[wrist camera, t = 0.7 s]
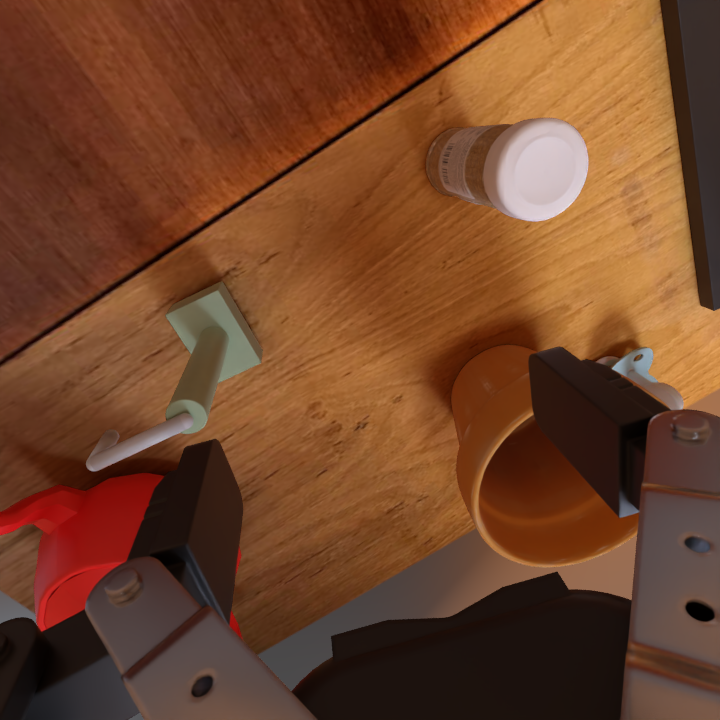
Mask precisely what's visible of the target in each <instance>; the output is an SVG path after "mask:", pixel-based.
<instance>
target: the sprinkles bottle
mask: <svg viewBox="0 0 720 720" xmlns="http://www.w3.org/2000/svg"><path fill="white" fill-rule="evenodd" d="M587 171H588V152H587V148H586V145H585V142H584V140H583V138H582V136H581V135H580V133H579V132H578V131H577V130H576V129H575V128H574V127H573V126H572V125H570V124H569V123H567V122H565V121H563V120H560V119H556V118H536V119H528V120H523V121H520V122H518V123H515V124H514V125H513V124H512V125H510V124H501V125H490V126H478V127H469V128H462V127H457V128H452V129H448V130H447V131H445V132H443V133H442V134H440V135H439V136H438V137H437V138H436V139H435V140H434V141H433V143H432V144H431V146H430V148H429V151H428V153H427V160H426V172H427V176H428V178H429V180H430V182H431V184H432V186H433V187H434V188H435V189H436V190H437V191H439V192H440V193H442V194H445V195H448V196H456V197H459V198H460V199H462V200H465V201H468V202H471V203H475V204H480V205H485V206H489V207H492V208H496V209H498V210H499V211H501V212H502V213H503V214H505V215H507V216H510V217H513V218H517V219H521V220H525V221H543V220H547V219H550V218H552V217H555V216H556V215H558V214H560V213H561V212H563V211H564V210H565V209H567V208H568V207H569V206H570V205H571V204H572V203H573V202H574V200H575V199H576V198H577V196H578V195H579V193H580V191H581V189H582V187H583V185H584V182H585V180H586V176H587Z"/></svg>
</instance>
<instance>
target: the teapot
mask: <svg viewBox="0 0 720 720" xmlns="http://www.w3.org/2000/svg"><path fill="white" fill-rule="evenodd" d="M163 478H164V476H162V475H156V474H151V473H139V474H133V475H126V476H120V477H114V478H108V479H107V480H105V481H103V482H101V483H100V484H98V485H96V486H95V487H92V488H90V489H88V490H86V491H83V490H79V489H75V488H72V487H68V486H64V485H60V484H59V485H56V486H54V487H51V488H49V489H46V490H44V491H41V492H39V493H36V494H34V495H31V496H29V497H26V498H24V499H22V500H20V501H19V502H17V503H15V504H14V505H12V506H10V507H9V508H7V509H5V510H4V511H2V512H0V535H3V534H6V533H9V532H13V531H14V530H16V529H17V528H19V527H21V526H22V525H28V524H33V525H35V526H36V527H38V528H39V529H41V530H42V531H44V532H43V535H42V537H41V540H40V544H39V552H38V560H37V567H36V574H35V581H34V594H35V613H36V623H37V625H38V627H39V629H40V630H41V631H44V630H46V629H48V628H50V627H52V626H54V625H56V624H58V623H59V622H61V621H63V620H65V619H67V618H69V617H71V616H73V615H75V614H77V613H79V612H80V611H82V610H84V609H85V604H86V600H87V598H88V595H89V594H90V592H91V590H92V589H93V588H94V586H95V585H96V584H97V583H98V581H99V580H100V579H101V578H102V577H104V576H105V575H106V574H107V573H108V572H110V571H111V570H112V569H114V568H115V567H117V566H118V565H120V564H122V563H124V562H126V561H127V558H128V555H129V553H130V550H131V548H132V545H133V542H134V540H135V537H136V535H137V532H138V530H139V527H140V524H141V522H142V520H144V514H145V511H146V509H147V507H148V506H149V501H150V499H151V496H152V493H153V491H154V488H155V487H156V486H157V485H158V483H159V482H160V481H161V480H162V479H163ZM240 559H241V552H240V547H239V550H238V558H237V566H236V573H237V569H238V566H239V562H240ZM235 576H236V575H235ZM229 626H230V627H231V628H232V629H233V630H234V631H235V632H236V633H237V634H238V636H239V637H240V638H241V639H242V635H241V632H240V629H239V625H238V623H237V621H236V619H235V617H234V615H233V613H232V611H231V616H230V625H229ZM242 640H243V639H242Z"/></svg>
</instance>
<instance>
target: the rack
mask: <svg viewBox="0 0 720 720" xmlns="http://www.w3.org/2000/svg"><path fill="white" fill-rule="evenodd" d="M661 6H662V14H663V21H664V29H665V36H666V44H667V52H668V59H669V67H670V75H671V82H672V90H673V97H674V105H675V113H676V120H677V128H678V136H679V143H680V151H681V158H682V166H683V174H684V181H685V189H686V197H687V204H688V212H689V219H690V227H691V235H692V242H693V250H694V257H695V265H696V273H697V280H698V288H699V296H700V303H701V306H703V307H706V308H708V309H711V310H713V311H715V310H717V309H719V308H720V0H661Z"/></svg>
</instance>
